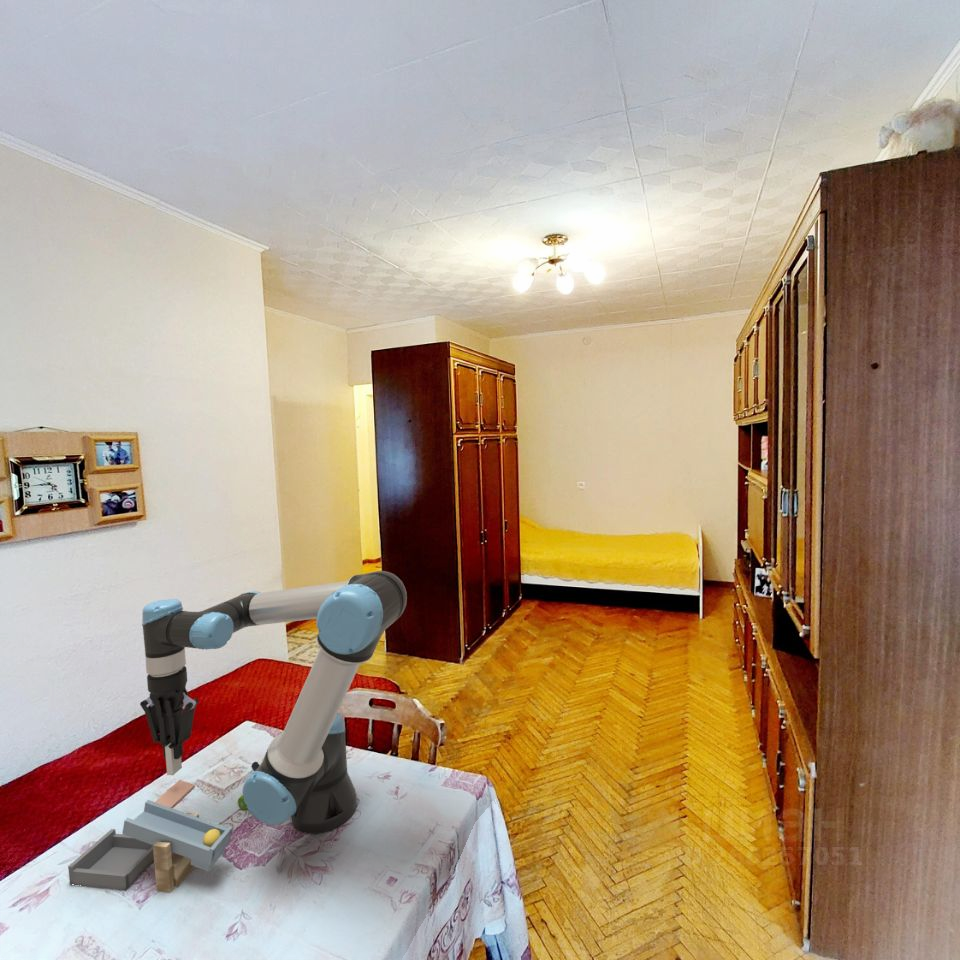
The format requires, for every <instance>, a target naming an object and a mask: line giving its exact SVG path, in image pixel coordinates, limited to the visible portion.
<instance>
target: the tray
mask: <svg viewBox="0 0 960 960" xmlns="http://www.w3.org/2000/svg"><path fill="white" fill-rule="evenodd" d="M116 832H117V831H116V829H113V828H111V829H110V830H109V831H107V832H106V833H105V834H104V835H103V836H102V837H100V838H99V839H98V840H97V841H96V842H94V843H93V844H92V845H91V846H90V847H89V848H88V849H86V850H85V851H84V852H83V853H82V854H81V855H80V856H78V857H77V858H76V859H75V860H73V862H71V863H70V864H69V865H68V867H67V870H68V879H69V885H70V884H71V885H70V886H75V885H79V886H78V887H85V886H86V887H85V888H94V889H104V890H105V889H107V890H114V891H115V890H116V891H125V892H126V891H127V890H128V889H129V888H130V887H132V885H133V884H134V883H135V882H136V881H137V880H138V879H139V878H140V877H141V876H142V875H143V874H144V873H145V872H146V871H147V869H148V868H150V866H152V865H153V864H154V853H153V845H151V844H148V843H146V842H143V841H140V840H137V839H135V838H132V837H129V836H126V835H124V834H122V833H116ZM72 884H74V885H72ZM80 885H81V886H80Z"/></svg>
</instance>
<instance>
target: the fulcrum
mask: <svg viewBox="0 0 960 960" xmlns="http://www.w3.org/2000/svg"><path fill="white" fill-rule="evenodd" d="M186 813H187V814H190V815H193V816H196V817H199V818H200V813H195V812H194V813H193V812H186ZM153 853H154V862H153V864H154V870H155V871H154V874H155V882H156V883H155V885H156V892H159V893H160V892H161V893H172V892H173V891H174V889H175V888H178V887H180V885H181V884H182V883H183V881H185V879H186V878H187V877H188V876H189V875H190V874H191V872H192V871H193V870H194V869H195V868H196V867H195V866H193V865H191V859H190V858H187V857H184V856H181V855H179V854H176V853H173V852H171V846H170V843H165V842H156V843H155V844H154V845H153Z"/></svg>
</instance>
